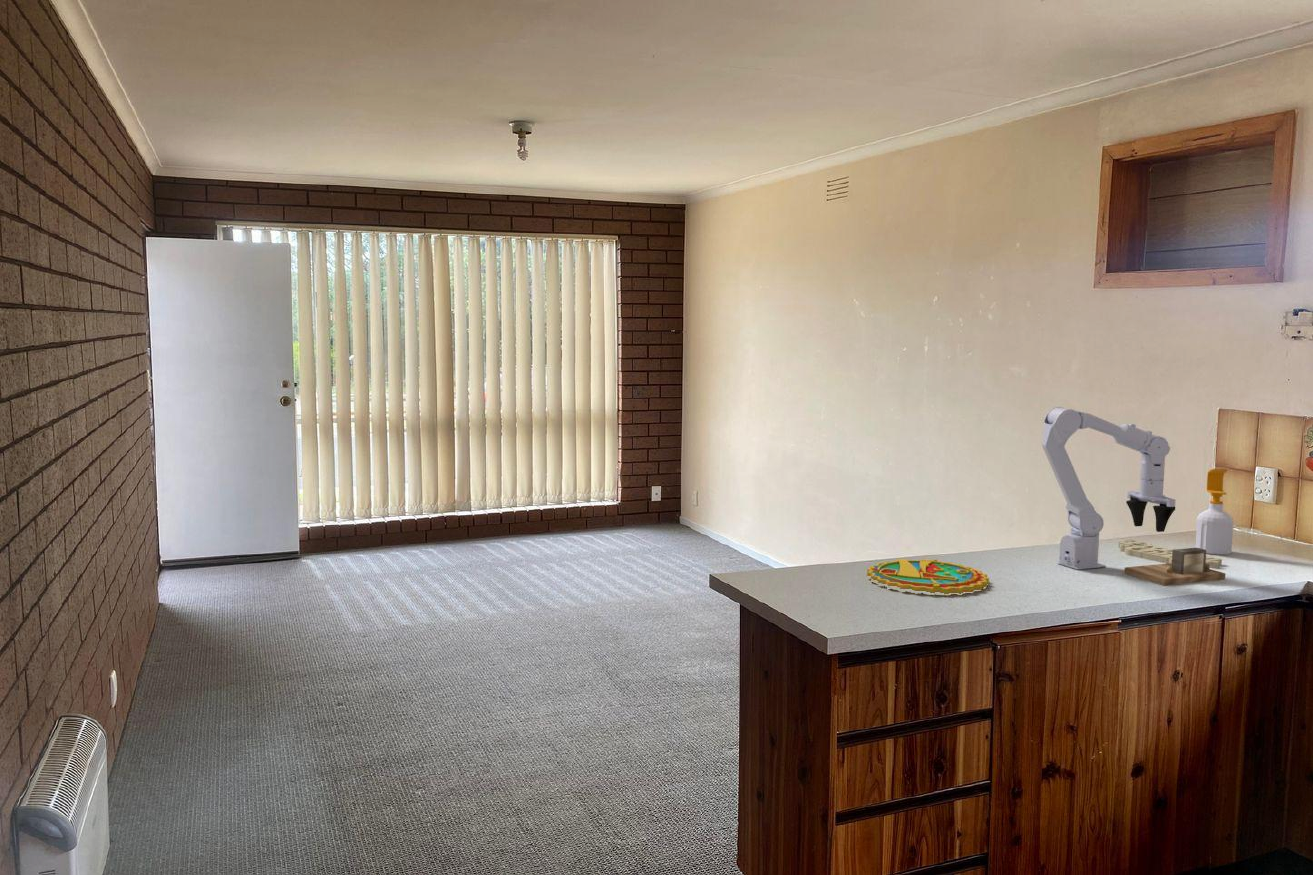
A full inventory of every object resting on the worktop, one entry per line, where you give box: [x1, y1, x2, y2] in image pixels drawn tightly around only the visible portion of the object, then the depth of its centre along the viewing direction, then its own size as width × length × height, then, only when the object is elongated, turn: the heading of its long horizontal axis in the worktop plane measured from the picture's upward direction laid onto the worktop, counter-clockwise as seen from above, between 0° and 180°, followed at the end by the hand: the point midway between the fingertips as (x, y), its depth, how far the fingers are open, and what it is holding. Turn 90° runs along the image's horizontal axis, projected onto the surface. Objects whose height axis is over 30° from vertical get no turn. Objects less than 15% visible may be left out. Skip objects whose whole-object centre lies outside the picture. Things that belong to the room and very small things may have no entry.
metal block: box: [1172, 547, 1207, 574], centre depth 248 cm, size 8×3×7 cm, turn 107°
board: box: [1123, 563, 1226, 586], centre depth 249 cm, size 20×13×3 cm, turn 107°
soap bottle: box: [1194, 468, 1234, 556], centre depth 276 cm, size 9×9×25 cm
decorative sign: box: [1117, 539, 1223, 569], centre depth 271 cm, size 31×2×15 cm
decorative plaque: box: [866, 558, 990, 594], centre depth 245 cm, size 30×3×30 cm
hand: (1149, 528), depth 259 cm, fingers open, 7 cm apart
